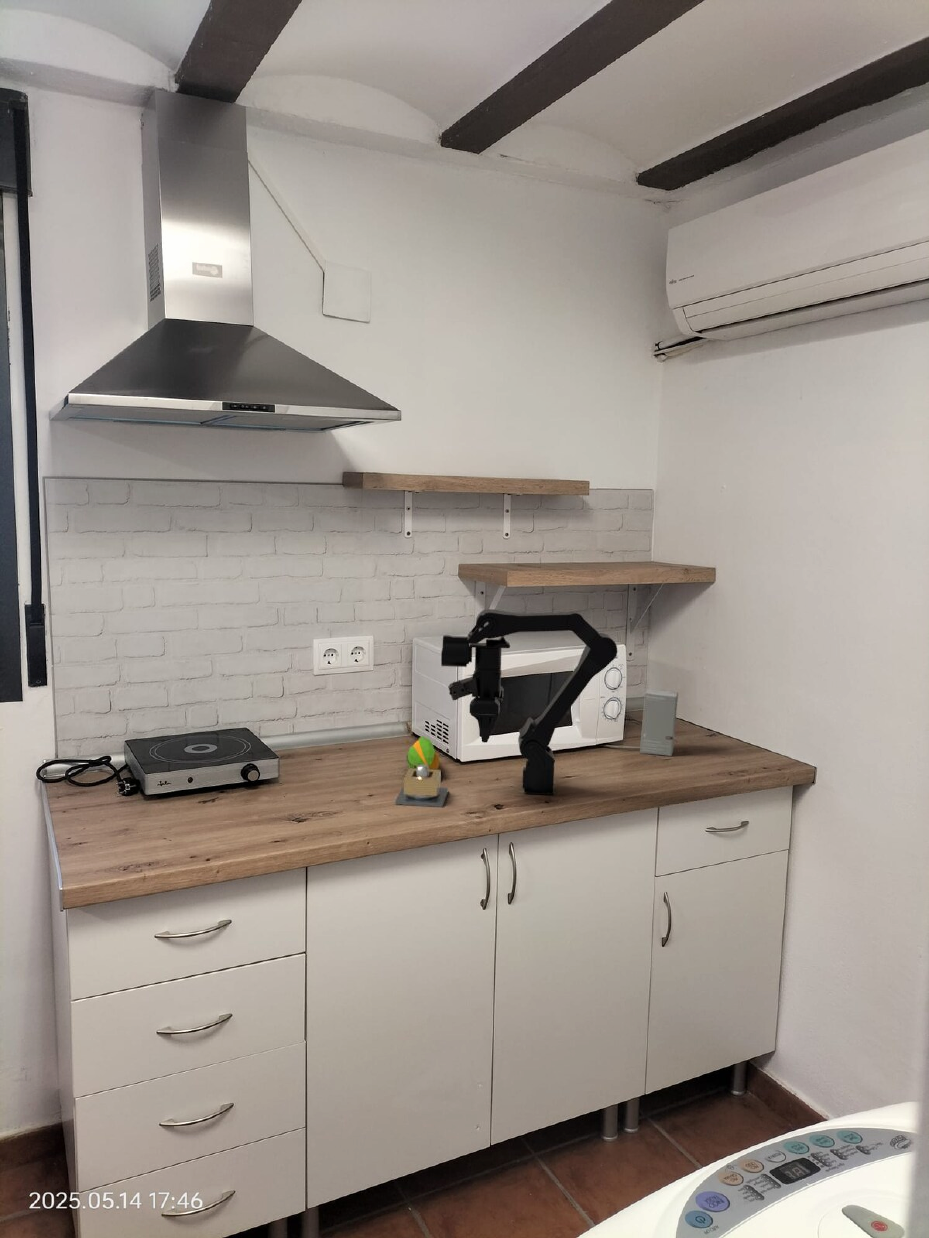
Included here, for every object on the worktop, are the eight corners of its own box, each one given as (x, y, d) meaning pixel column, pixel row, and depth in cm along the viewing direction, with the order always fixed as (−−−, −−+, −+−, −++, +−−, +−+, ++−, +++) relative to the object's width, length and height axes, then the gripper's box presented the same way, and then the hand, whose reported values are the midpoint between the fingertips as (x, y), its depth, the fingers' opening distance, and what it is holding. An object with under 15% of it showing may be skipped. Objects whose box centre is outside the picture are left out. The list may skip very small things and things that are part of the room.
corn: (412, 750, 205) (403, 727, 225) (409, 782, 206) (400, 757, 226) (444, 751, 207) (433, 728, 226) (441, 783, 208) (430, 758, 227)
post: (448, 791, 201) (448, 760, 200) (442, 806, 191) (443, 774, 190) (403, 789, 202) (403, 758, 201) (395, 804, 192) (395, 772, 191)
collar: (440, 785, 199) (440, 769, 199) (436, 795, 192) (436, 779, 192) (408, 783, 200) (408, 768, 199) (403, 794, 193) (404, 778, 192)
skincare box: (639, 753, 233) (642, 693, 231) (642, 746, 240) (645, 687, 238) (673, 757, 231) (676, 695, 229) (675, 749, 238) (678, 690, 236)
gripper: (455, 658, 209) (454, 724, 211) (446, 674, 191) (445, 746, 193) (504, 660, 208) (502, 726, 210) (499, 676, 190) (497, 748, 192)
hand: (486, 736), depth 201 cm, fingers open, 9 cm apart
